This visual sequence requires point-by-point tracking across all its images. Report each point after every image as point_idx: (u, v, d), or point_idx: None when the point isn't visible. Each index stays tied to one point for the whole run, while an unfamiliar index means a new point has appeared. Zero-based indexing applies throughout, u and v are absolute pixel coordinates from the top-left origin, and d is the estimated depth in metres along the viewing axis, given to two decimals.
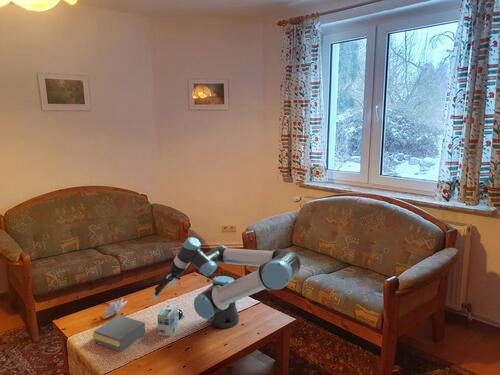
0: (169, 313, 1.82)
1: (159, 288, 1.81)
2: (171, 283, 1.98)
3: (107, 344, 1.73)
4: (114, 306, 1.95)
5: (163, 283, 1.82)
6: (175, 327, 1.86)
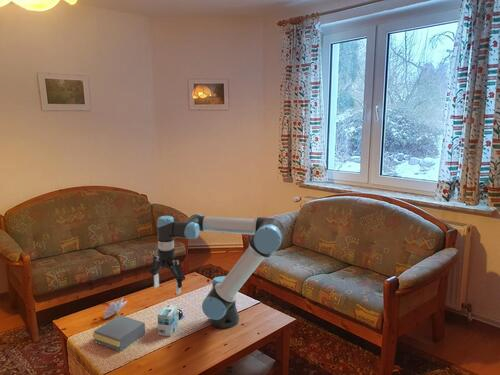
0: (169, 313, 1.82)
1: (182, 275, 1.78)
2: (156, 282, 1.86)
3: (107, 344, 1.73)
4: (114, 306, 1.95)
5: (180, 269, 1.78)
6: (175, 327, 1.86)
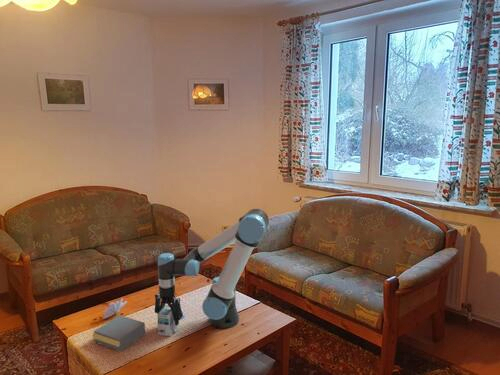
0: (169, 313, 1.82)
1: (180, 313, 1.82)
2: None
3: (107, 344, 1.73)
4: (113, 306, 1.94)
5: (179, 307, 1.82)
6: None
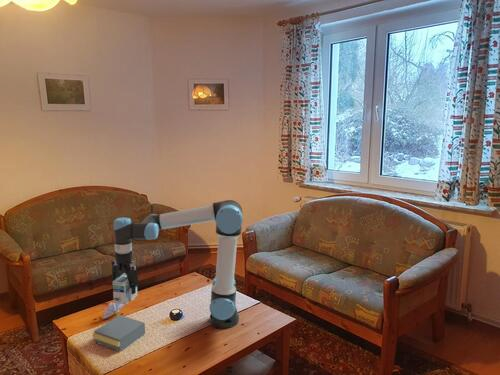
0: (125, 280, 1.73)
1: (137, 281, 1.73)
2: None
3: (107, 344, 1.73)
4: (113, 306, 1.94)
5: (136, 275, 1.73)
6: None
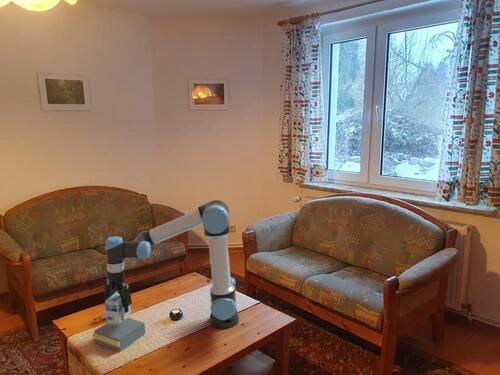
0: (118, 299, 1.73)
1: (130, 300, 1.73)
2: None
3: (107, 344, 1.73)
4: None
5: (128, 294, 1.73)
6: None
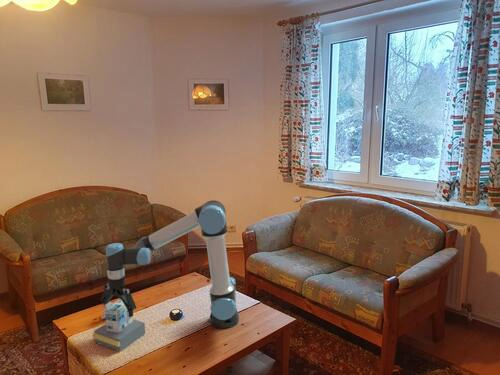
0: (117, 309, 1.74)
1: (133, 304, 1.73)
2: None
3: (107, 344, 1.73)
4: None
5: (131, 298, 1.73)
6: (125, 324, 1.78)
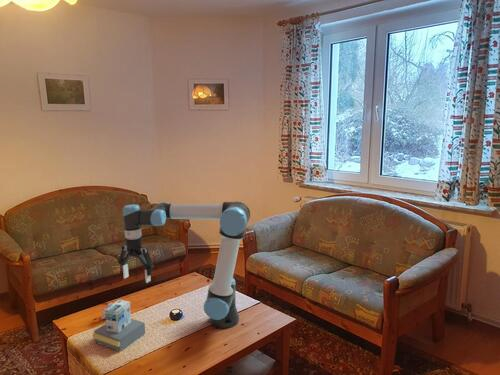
0: (117, 309, 1.74)
1: (151, 263, 1.78)
2: (126, 273, 1.85)
3: (107, 344, 1.73)
4: None
5: (149, 257, 1.78)
6: (125, 324, 1.78)
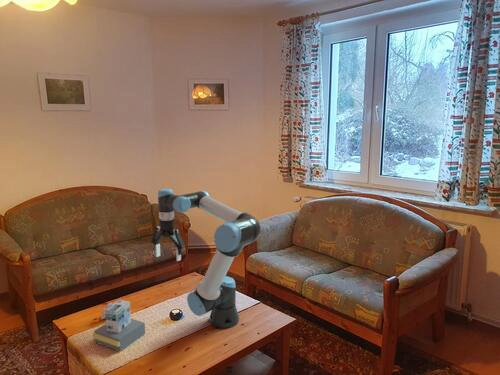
0: (117, 309, 1.74)
1: (182, 243, 1.93)
2: (158, 252, 2.01)
3: (107, 344, 1.73)
4: None
5: (180, 237, 1.93)
6: (125, 324, 1.78)
